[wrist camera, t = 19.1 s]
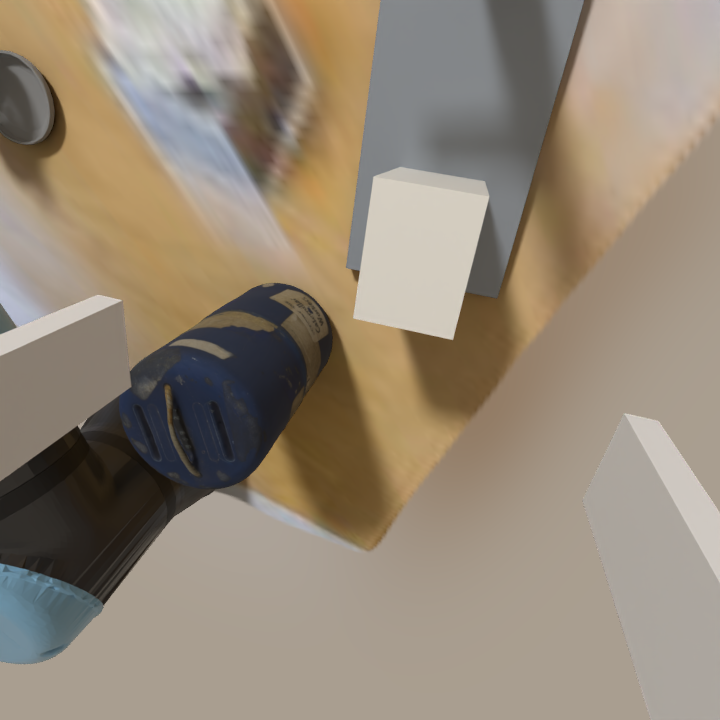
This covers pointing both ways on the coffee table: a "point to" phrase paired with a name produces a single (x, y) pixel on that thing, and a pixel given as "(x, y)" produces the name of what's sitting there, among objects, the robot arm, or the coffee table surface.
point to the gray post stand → (465, 106)
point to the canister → (226, 386)
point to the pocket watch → (24, 101)
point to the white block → (419, 249)
